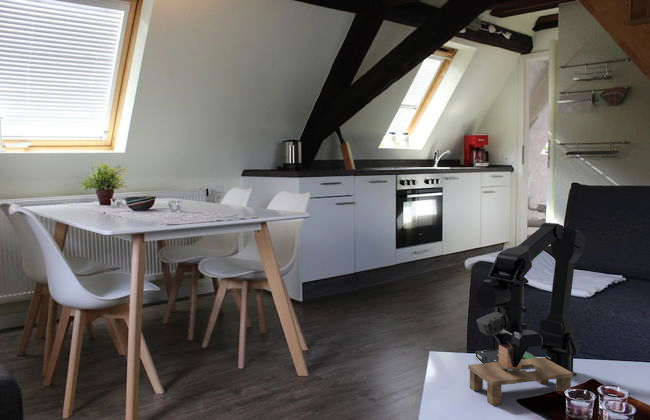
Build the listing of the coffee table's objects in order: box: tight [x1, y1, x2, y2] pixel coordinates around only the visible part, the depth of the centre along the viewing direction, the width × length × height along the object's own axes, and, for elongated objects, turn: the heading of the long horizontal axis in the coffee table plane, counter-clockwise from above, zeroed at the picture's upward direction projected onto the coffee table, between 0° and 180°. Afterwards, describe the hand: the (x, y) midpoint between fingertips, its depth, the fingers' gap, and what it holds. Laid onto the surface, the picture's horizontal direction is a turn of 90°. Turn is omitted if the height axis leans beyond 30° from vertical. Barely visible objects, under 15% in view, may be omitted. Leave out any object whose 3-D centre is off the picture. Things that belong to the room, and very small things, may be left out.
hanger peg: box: [498, 344, 522, 385], centre depth 147 cm, size 4×4×9 cm
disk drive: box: [475, 348, 538, 364], centre depth 170 cm, size 10×3×15 cm
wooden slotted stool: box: [467, 357, 574, 406], centre depth 148 cm, size 22×12×6 cm, turn 103°
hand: (510, 363), depth 147 cm, fingers closed on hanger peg, 4 cm apart
